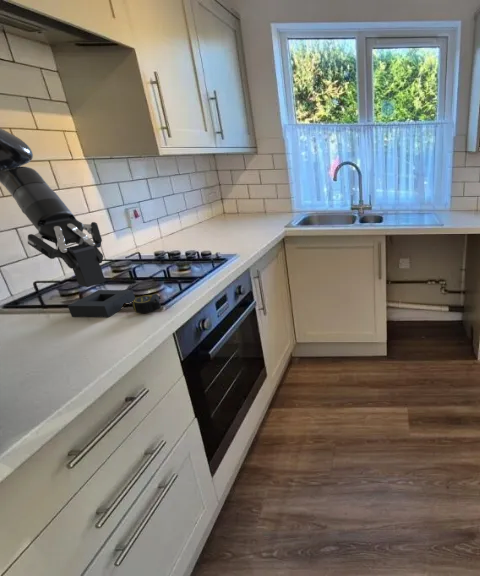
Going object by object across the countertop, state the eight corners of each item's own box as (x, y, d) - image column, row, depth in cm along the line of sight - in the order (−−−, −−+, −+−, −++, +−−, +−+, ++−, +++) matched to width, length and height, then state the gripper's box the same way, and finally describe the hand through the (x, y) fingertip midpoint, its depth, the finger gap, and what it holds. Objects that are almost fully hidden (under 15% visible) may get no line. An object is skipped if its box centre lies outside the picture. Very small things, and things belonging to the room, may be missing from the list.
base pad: (108, 317, 101) (104, 306, 99) (71, 316, 102) (67, 305, 100) (136, 300, 111) (132, 290, 110) (102, 300, 112) (98, 289, 110)
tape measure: (162, 312, 103) (158, 300, 102) (134, 318, 100) (130, 305, 99) (162, 303, 109) (159, 291, 107) (135, 308, 106) (131, 297, 104)
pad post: (87, 287, 84) (72, 250, 80) (77, 284, 86) (63, 248, 82) (106, 281, 87) (93, 245, 84) (97, 278, 89) (84, 243, 86)
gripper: (3, 202, 76) (53, 265, 76) (81, 192, 88) (124, 246, 87) (4, 225, 81) (51, 284, 80) (78, 212, 92) (119, 264, 92)
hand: (89, 264), depth 84 cm, fingers closed on pad post, 4 cm apart
